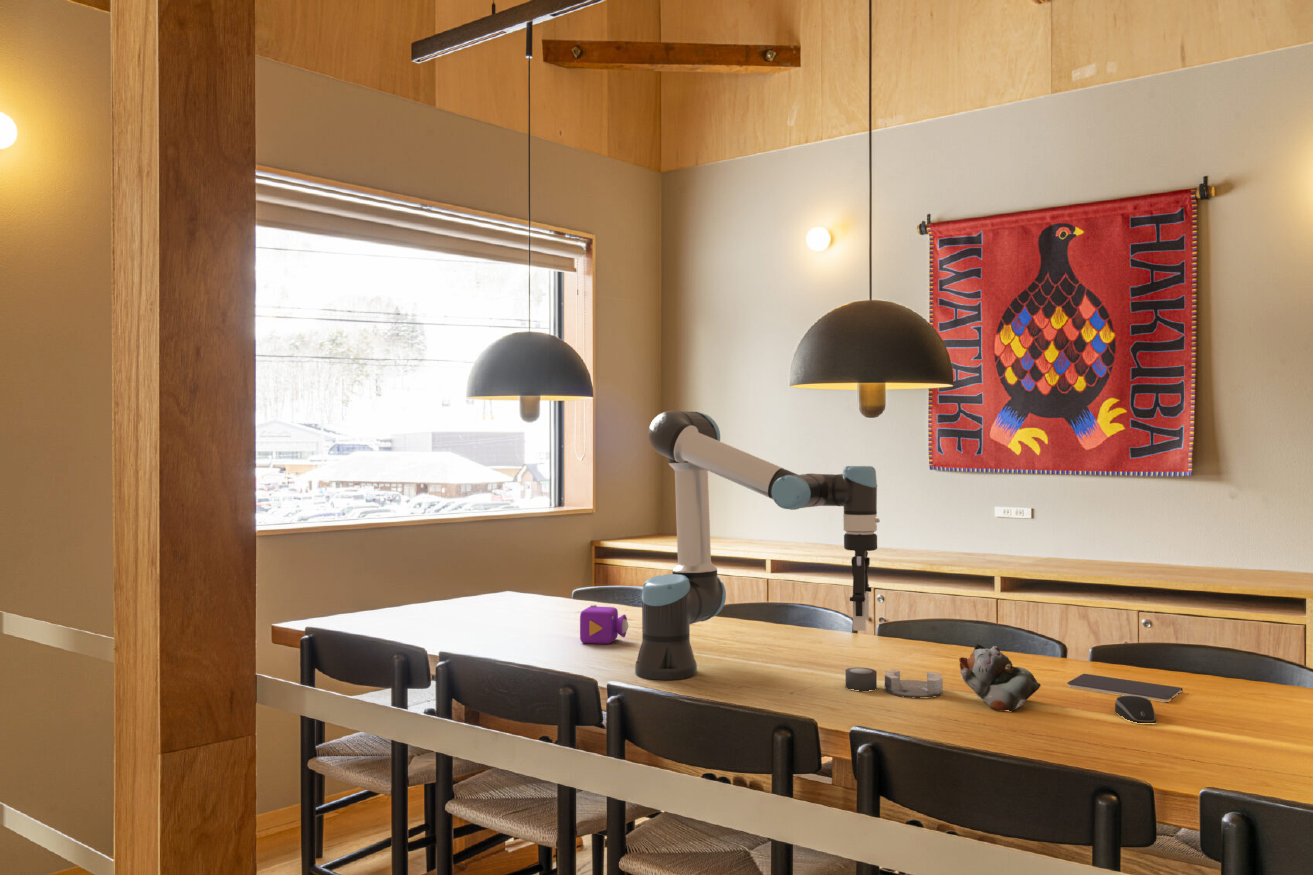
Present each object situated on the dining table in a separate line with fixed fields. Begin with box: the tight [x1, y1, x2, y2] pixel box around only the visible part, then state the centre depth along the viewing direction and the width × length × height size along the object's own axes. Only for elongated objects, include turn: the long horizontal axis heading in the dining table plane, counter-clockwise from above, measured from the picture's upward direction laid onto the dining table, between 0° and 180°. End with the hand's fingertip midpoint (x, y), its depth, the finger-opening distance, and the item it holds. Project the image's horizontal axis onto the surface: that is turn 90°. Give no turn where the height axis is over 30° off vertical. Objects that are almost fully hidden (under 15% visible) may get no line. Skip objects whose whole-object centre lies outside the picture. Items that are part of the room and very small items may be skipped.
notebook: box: [1066, 673, 1183, 702], centre depth 215 cm, size 13×2×21 cm
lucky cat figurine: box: [959, 643, 1042, 712], centre depth 205 cm, size 15×12×14 cm
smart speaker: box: [844, 667, 878, 691], centre depth 218 cm, size 7×7×4 cm
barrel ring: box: [884, 669, 943, 699], centre depth 215 cm, size 13×13×4 cm
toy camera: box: [579, 604, 629, 645], centre depth 271 cm, size 11×14×10 cm
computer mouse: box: [1114, 696, 1157, 723], centre depth 194 cm, size 7×12×4 cm, turn 169°
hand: (861, 625), depth 218 cm, fingers open, 13 cm apart
